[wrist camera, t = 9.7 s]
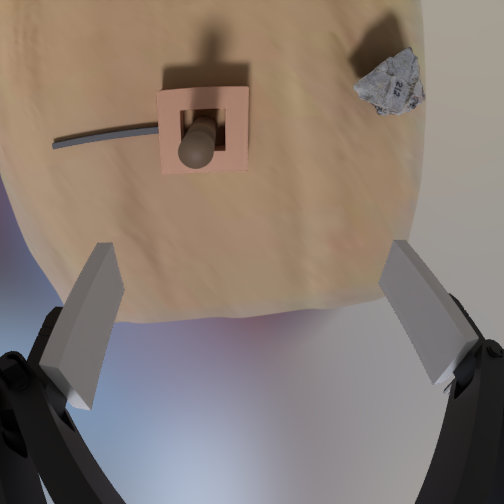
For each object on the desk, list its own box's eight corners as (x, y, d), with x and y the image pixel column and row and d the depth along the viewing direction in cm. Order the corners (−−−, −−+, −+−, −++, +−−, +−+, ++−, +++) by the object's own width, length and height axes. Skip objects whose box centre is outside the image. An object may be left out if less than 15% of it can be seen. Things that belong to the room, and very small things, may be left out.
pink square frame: (161, 89, 30) (156, 91, 27) (246, 85, 31) (248, 86, 28) (166, 166, 35) (162, 174, 33) (245, 163, 36) (247, 171, 34)
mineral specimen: (378, 94, 36) (358, 36, 29) (429, 94, 31) (416, 32, 24) (367, 132, 33) (344, 65, 26) (428, 135, 28) (416, 61, 21)
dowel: (191, 116, 32) (177, 135, 22) (216, 115, 33) (213, 134, 23) (192, 139, 34) (178, 169, 24) (216, 138, 34) (214, 168, 24)
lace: (54, 142, 31) (52, 143, 31) (163, 125, 32) (162, 126, 32) (54, 148, 32) (52, 149, 31) (164, 132, 33) (163, 132, 32)
